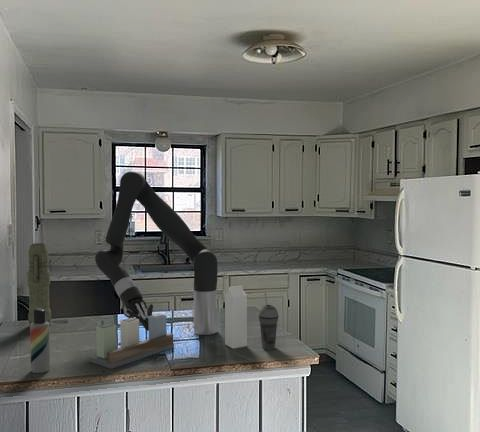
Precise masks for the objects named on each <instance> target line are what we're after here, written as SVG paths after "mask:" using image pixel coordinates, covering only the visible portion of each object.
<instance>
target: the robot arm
mask: <svg viewBox="0 0 480 432" xmlns="http://www.w3.org/2000/svg"><path fill="white" fill-rule="evenodd" d="M119 179H120V180H119V188H118V195H117V201H116V205H115V209H114V212H113V215H112V217H111V220H110V224H109V226H108V229H107V233H106V236H105V242H106V244H108V245H110V248H109V249H101V250H99V251H97V253H96V254H95V257H94V258H95V260H94V261H95V264H96V267H98V269H99V270H100V271H101V273H103V274H104V275H105V276H106V277H107V278H108V279H109V280H110V282H111V284H112V286H113V287H114V289H115V292H116V294H117V296H118V297H119V299H120V301H121V303H122V305H123V306H124V307H125V309H126V311H125V312H124V314H123V315H124V316H125V317H126V318H127V319H128V318H136V319H139V324H141V325H142V327H143V328H144V330H146V331H147V332H149V319H148V317H149V316H151V315H153V310H154V305H153V304H152V303H151V304H147V302H146V301H145V300H143V299H144V298H143V295H142V292H140V290H139V288H138V286H137V284H136V282H135V281H134V280H133V279H132V278H131V276H130V274H129V273H128V271H127V270H126V268H125V267H122V266H120V265H121V264H122V261H123V256H124V242H125V239H126V237H127V236H126V235H127V232H128V229H129V225H130V221H131V215H132V210H133V207H134V205H135V203H136V201H137V202H139V203H140V205H141V206H142V207H143V208H144V209H145V211H146V213H147V214H148V216H149V217H150V219H151V220H152V222H153V223H154V224H155V225H156V227H157V228H158V229H159V230H160V231H161V232H162V233H163V234H164V236H166V237H167V239H169V240H170V241H171V242H173V243H174V245H176V246H177V247H179V248H180V249H181V250H182V251H183V252H184V253H185V255H186V256H187V257H188V259H189V260H190V261H191V262H192V264H193V272H194V273H193V274H194V275H193V333H194V334H195V335H200V336H205V335H206V336H208V335H214V334H217V333H219V331H220V329H219V327H220V325H219V324H220V323H219V321H220V320H219V317H220V316H219V308H218V305H217V304H218V299H217V298H218V297H217V296H218V295H217V294H218V289H217V288H218V286H217V285H218V258H217V256H216V255H215V253H214V252H212V250H210V249H209V248H207V247H206V246H205V245H204V243H202V242H201V241H199V239H198V238H197V237H196V236H195V235H194V233H193V232H192V231H191V229H190V228H189V226H188V225H187V223H186V222H185V221H184V220H183V218H182V217H181V216H180V215H179V214H178V213H177V212H176V210H174V209H173V208H172V207H171V206H170V205H169V204H168V203H167V202H166V201H165V200H164V199H163V198H161V197H160V196H159V195H158V194H157V192H155V190H154V189H153V188H152V187H151V185H150V184H149V183H148V181H147V180H146V178H145V176H144V175H143V174H142V173H140V172H139V171H136V170H132V171H131V170H130V171H127V172H125V173H123V175H122V176H121V177H120V178H119Z"/></svg>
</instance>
